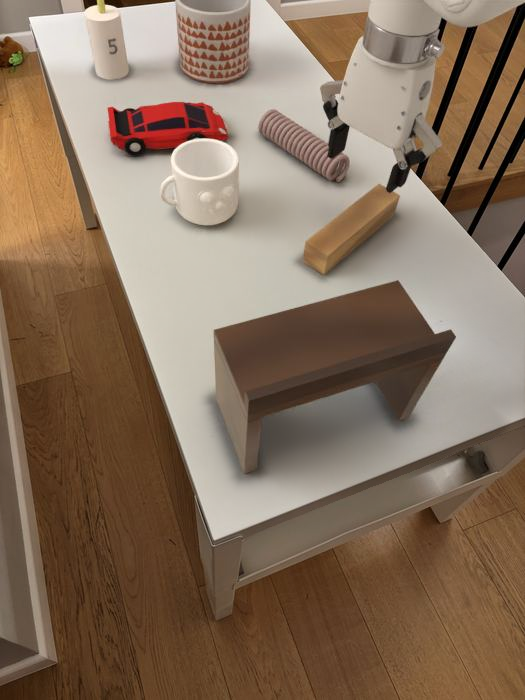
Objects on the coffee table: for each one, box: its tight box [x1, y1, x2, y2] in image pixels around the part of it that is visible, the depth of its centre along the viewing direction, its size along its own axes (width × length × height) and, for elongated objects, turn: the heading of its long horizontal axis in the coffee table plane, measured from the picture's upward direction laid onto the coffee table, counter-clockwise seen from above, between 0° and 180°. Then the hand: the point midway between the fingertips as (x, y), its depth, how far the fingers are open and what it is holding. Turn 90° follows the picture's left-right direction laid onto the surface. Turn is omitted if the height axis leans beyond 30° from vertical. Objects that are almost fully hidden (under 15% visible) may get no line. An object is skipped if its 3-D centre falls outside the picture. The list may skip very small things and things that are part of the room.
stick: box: [302, 183, 401, 276], centre depth 80 cm, size 4×18×4 cm, turn 138°
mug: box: [159, 138, 240, 226], centre depth 80 cm, size 12×10×9 cm
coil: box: [257, 108, 351, 183], centre depth 91 cm, size 5×5×18 cm
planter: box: [174, 0, 252, 84], centre depth 103 cm, size 14×14×13 cm
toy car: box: [107, 101, 229, 157], centre depth 92 cm, size 10×20×5 cm, turn 107°
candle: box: [83, 0, 130, 81], centre depth 99 cm, size 6×6×15 cm
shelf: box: [213, 279, 457, 475], centre depth 58 cm, size 10×21×16 cm, turn 111°
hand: (364, 170), depth 72 cm, fingers open, 9 cm apart
